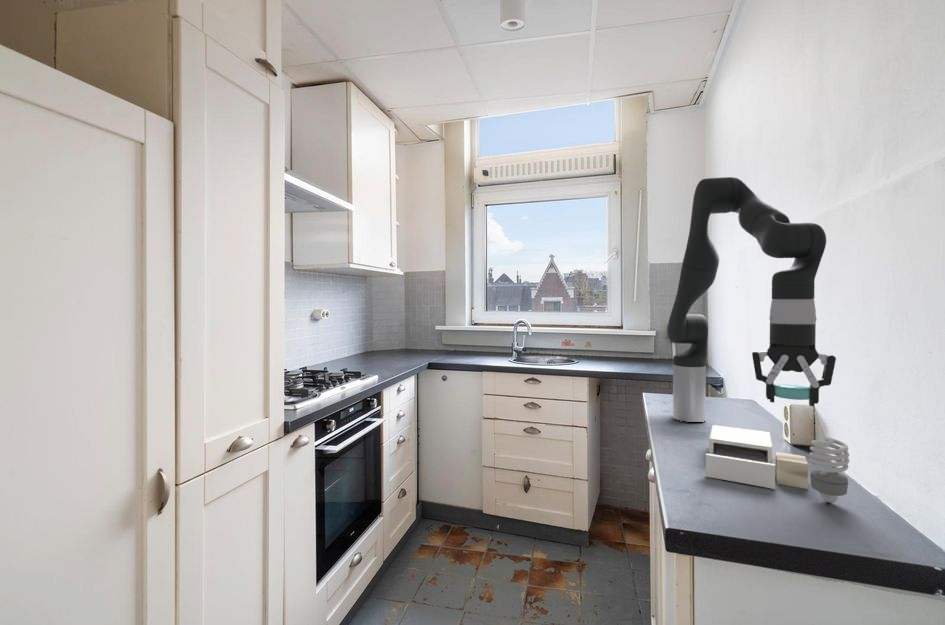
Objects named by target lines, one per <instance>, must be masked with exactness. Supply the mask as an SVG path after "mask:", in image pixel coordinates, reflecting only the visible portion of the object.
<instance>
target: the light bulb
mask: <svg viewBox="0 0 945 625" xmlns="http://www.w3.org/2000/svg"><path fill="white" fill-rule="evenodd" d="M824 440H825V441H822V440H816V439H814V440H811V441H810V444H811V445H812V446H810V447H809V450H810V451H811V452H810V453H809V456H810V457H811V458H810V462H811V463H812V464H813V465H817V466H822V467H828V468H822V469H821V468H816V469H813V470H810V485H811V488H812V489H814V490H815V491H817V492H819V497H820V499H821V500H822V501H824V502H825V503H827V504H834V503H836V502H838V499H839V498H838V497H841V496H842V497H843V496H845V495H847V493H848V488H849V487H848V485H849V479H848V477H847V476H846V475H845V474H843V472H845V471H848V469H849V463H850V457H849V456H850V453H849V446H848V445H847V443H845V442H843V441H840V440H838V439H835V438H831V437H827V436H826V437H824ZM833 461H834V462H833ZM829 467H830V468H829Z"/></svg>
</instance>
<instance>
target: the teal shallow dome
mask: <svg viewBox="0 0 945 625" xmlns="http://www.w3.org/2000/svg"><path fill="white" fill-rule="evenodd" d="M774 385H775V388H774V397H776V398H780V399H781V398H782V399H785V400H794V401H795V400H796V401H797V400H798V401H799V400H800V401H805V400H806V401H809V399H810V388H809V386H807V385H806V386H804V385H798V384H792V383H791V384H790V383H789V384H787V383H776V384H775V383H774Z"/></svg>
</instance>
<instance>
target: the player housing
mask: <svg viewBox="0 0 945 625" xmlns="http://www.w3.org/2000/svg"><path fill="white" fill-rule="evenodd" d="M710 430H711V431H710V434H709V438H708V439H709V440H708V443H709V445H708V448H709V450H708V454H714V453H715V449H720V450H727V451H733V452H740V453H746V454H753V455H760V456H766V463H771V464H773V443H772V438H771V432H770V431H763V430H757V429H746V428H741V427H730V426H723V425H714V424H712V428H711V429H710Z"/></svg>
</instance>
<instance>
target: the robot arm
mask: <svg viewBox="0 0 945 625" xmlns="http://www.w3.org/2000/svg"><path fill="white" fill-rule="evenodd" d="M729 213H736V214H737V215H738V219H737V220H738V224H739V225H740V227H741V229H743V230H744V231H745V232H746V233H748V234H749V235H750V236H752V237H753V238H754V239H756V241H757V243H758V245H759V247H760V249H761V251H762V252H763V253H764V254H765V255H766V256H768V257H771V258H774V259H775V258H776V259H794V261H793V263H792V264H791V267H790V268H787V269H783V270H779V271H776V272H775V273H773V275H772V277H771V301H770V302H771V303H770V307H769V347H768V348H767V350H765V351H757V350H754V351H752V352H751V355H752V357H751V358H752V361H753V368H754V373H755V375H754V376H755V379H756V380H757V381H760V382H763V383H765V397H766V399H767V400H769V402H770V403H775V396H774V388H775V383H774V382H775V381H776V378H777V377H778V376H779V375H780V372H781V371H782V372H791V371H792V372H795V373H802V372H803V374H804V375H805V377H806V379H807V380H808V382H809V384H810V385H809V386H808V387H809V388H810V399H808V405H809V407H815V405H816V404H819V401H820V400H819V398H820V388H821V387H824V386H825V387H826V386H831V385H832V380H833V375H834V369H835V366H836V365H835V364H836V362H837V358H836V356H835V355H833V354H831V353H829V354H825V353H819V352H818V351H817V349H816V333H817V332H816V330H817V329H816V327H817V325H816V322H817V312H816V311H817V310H816V302H815V288H816V287H815V281H816V280H815V279H816V276H817V273H818V269H819V267H820V265H821V261H822V258H823V256H824V253H825V250H826V245H827V236H826V232H825V230H824V229H823V227H822V226H821V225H819V224H817V223H816V222H815V223H813V222H794V223H793V222H791V220H790V218H789V217H788V215H786V214H785V213H784V212H782V211H781V210H779V209H778V208H776V207H774V206H772V205H769V204H768V203H766V202H764V201H763V200H762V199H760V197H758V195H757V194H756V193H755V192H754V191H753V190H752V189H751V188H750V187H749V186H748V185H747V184H746V183H745V182H744V181H743V180H742V179H739V178H738V177H732V176H727V177H711V178H710V177H707V178H703V179H701V180H700V181H699V182H698V183H697V185H696V186H695V190H694V194H693V199H692V206H691V216H690V223H689V224H690V225H689V231H688V232H689V233H688V237H687V243H686V247H685V252H684V255H683V260H682V264H681V269H680V275H679V280H678V286H677V291H676V295H675V298H674V303H673V306H672V309H671V312H670V315H669V317H668V318H669V319H668V323H667V338H668V340H669V341H670V343H672V344H679V345H680V344H685V345H686V344H688V345H690V347H689V348H688V349H686V350H685V351H683V352H680V353H677V354H675V355H674V356H673V357H672V358H673V359H672V369H673V370H672V419H673V420H675V419H676V420H675V421H678V420H680V421H679V422H682V421H686V422H685V423H687V422H703V423H705V422H706V417H707V415H706V410H707V407H706V405H707V404H706V402H707V400H706V399H707V398H706V395H707V394H706V390H707V389H706V388H707V387H706V386H707V383H706V382H707V381H706V377H707V376H706V375H707V374H706V370H707V367H706V365H707V357H708V339H709V324H708V320H707V317H706V316H705V315H703V314H698V313H695V314H692V313H690V314H689V311H690V310H691V307H692V306H693V304H695V302H696V301H697V300H699V298H701V297H702V295H704V294H705V293H706V292H707V291H708V290H709V289H710V288H711V286H712V285H713V283H715V280H716V277H717V272H718V269H719V264H720V256H719V253H718V251H717V248H716V246H715V243H714V242H713V240H712V238H711V236H710V233H709V222H710V217H711V215H713V214H715V215H716V214H718V215H719V214H729ZM766 357H768V359H769V360H770V361H771V362H772V364H773V365H772V367H771V368H770V371H769V372H768V374H767V375H765V374H763V370H762V365H761V362H764V361H765V358H766ZM818 359H819V360H820V364H821V365H823V370H822V374H821V375H822V376H821V378H819V379H818V378H816V376H815V374H814V373H813V370H812V369H811V368H810V367H811V366H812V365H813V364H814V363H815V362H816V361H817V360H818ZM704 421H705V422H704Z"/></svg>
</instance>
